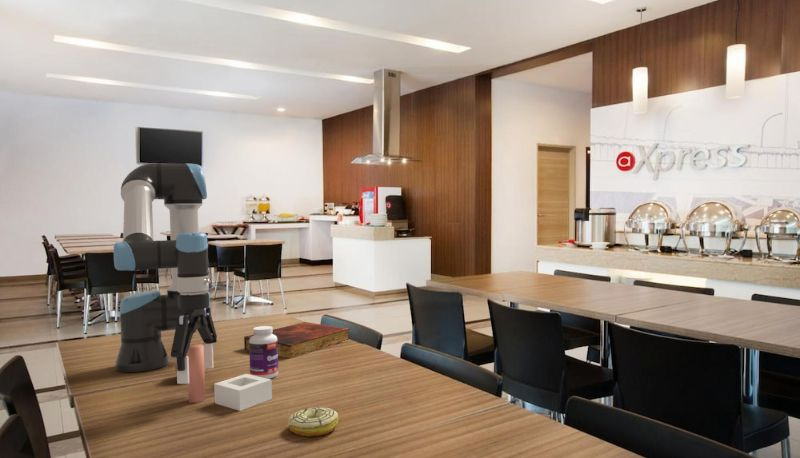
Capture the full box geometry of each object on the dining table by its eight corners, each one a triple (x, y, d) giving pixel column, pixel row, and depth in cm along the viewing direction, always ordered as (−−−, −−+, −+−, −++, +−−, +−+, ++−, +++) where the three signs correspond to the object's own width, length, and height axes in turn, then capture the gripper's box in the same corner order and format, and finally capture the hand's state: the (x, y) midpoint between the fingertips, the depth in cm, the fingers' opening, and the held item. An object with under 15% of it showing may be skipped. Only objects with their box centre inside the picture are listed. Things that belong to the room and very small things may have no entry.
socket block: (214, 403, 137) (214, 383, 137) (246, 392, 146) (246, 373, 145) (240, 410, 132) (239, 390, 132) (272, 398, 140) (271, 379, 140)
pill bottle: (271, 381, 155) (269, 331, 154) (245, 380, 156) (243, 330, 156) (282, 373, 163) (281, 325, 162) (258, 372, 164) (256, 324, 164)
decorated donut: (303, 418, 127) (303, 402, 127) (345, 423, 123) (345, 406, 123) (280, 435, 117) (279, 418, 117) (325, 441, 113) (324, 423, 113)
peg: (185, 401, 140) (183, 346, 139) (199, 396, 143) (197, 343, 143) (194, 403, 137) (193, 348, 137) (208, 399, 141) (206, 345, 140)
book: (304, 334, 217) (304, 322, 217) (350, 341, 203) (350, 328, 203) (244, 350, 193) (243, 336, 193) (291, 360, 179) (290, 345, 179)
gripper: (183, 299, 127) (186, 390, 127) (227, 286, 151) (230, 362, 152) (153, 300, 127) (156, 390, 128) (201, 286, 152) (204, 362, 152)
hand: (196, 375), depth 140 cm, fingers open, 13 cm apart
